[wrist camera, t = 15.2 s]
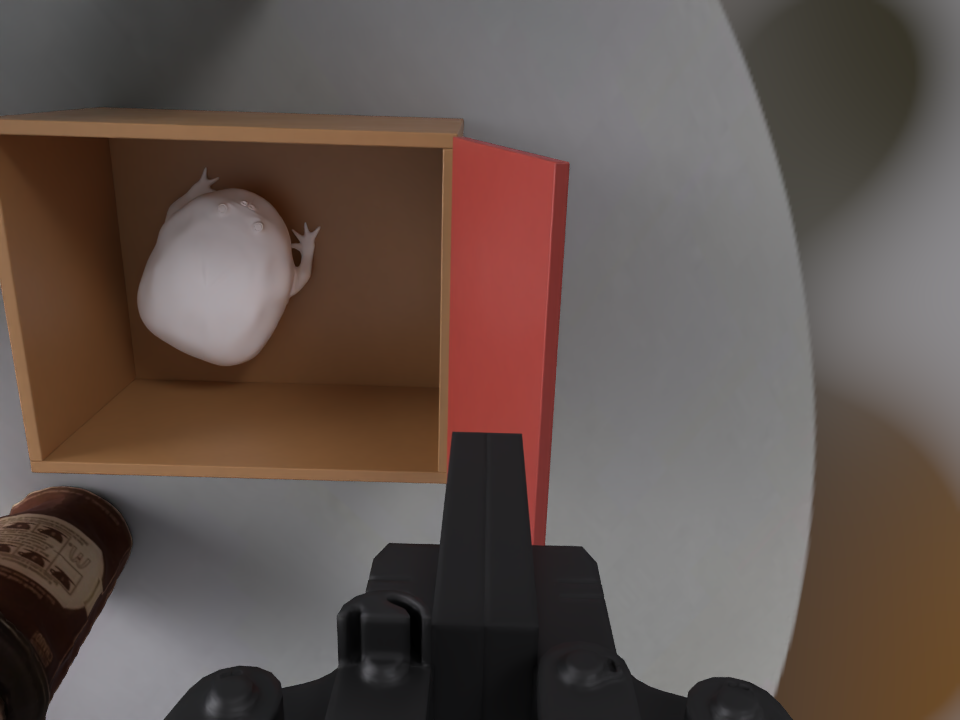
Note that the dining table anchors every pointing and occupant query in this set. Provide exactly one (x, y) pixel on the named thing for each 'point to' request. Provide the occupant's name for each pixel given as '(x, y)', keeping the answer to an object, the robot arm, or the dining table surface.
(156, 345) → the carton
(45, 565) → the coffee cup
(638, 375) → the dining table surface
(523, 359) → the flap
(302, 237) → the white frog figurine
